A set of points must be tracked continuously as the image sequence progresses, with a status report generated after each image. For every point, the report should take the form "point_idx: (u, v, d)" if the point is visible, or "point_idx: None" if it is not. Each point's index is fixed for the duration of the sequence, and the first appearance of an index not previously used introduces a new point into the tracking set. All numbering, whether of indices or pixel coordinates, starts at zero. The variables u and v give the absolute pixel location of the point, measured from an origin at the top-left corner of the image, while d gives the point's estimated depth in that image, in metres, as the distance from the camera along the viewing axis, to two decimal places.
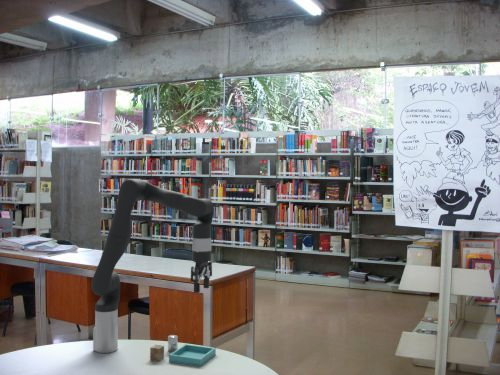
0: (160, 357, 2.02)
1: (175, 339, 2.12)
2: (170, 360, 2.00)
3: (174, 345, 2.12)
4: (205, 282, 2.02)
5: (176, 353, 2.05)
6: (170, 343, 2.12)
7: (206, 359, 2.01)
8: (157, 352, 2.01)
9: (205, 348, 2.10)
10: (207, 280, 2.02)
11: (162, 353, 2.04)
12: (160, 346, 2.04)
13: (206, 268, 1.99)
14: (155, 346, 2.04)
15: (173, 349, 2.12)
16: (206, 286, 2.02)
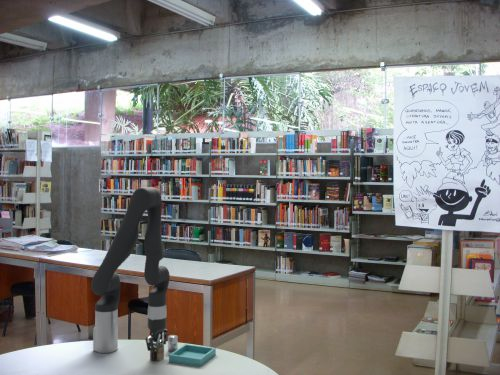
0: (160, 357, 2.02)
1: (175, 339, 2.12)
2: (170, 360, 2.00)
3: (174, 345, 2.12)
4: None
5: (176, 353, 2.05)
6: (170, 343, 2.12)
7: (206, 359, 2.01)
8: (157, 352, 2.01)
9: (205, 348, 2.10)
10: None
11: (162, 353, 2.04)
12: (160, 346, 2.04)
13: (161, 334, 2.04)
14: None
15: (173, 349, 2.12)
16: None
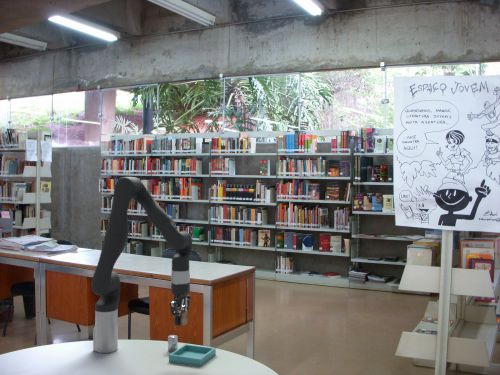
0: (184, 322, 2.02)
1: (175, 339, 2.12)
2: (170, 360, 2.00)
3: (174, 345, 2.12)
4: None
5: (176, 353, 2.05)
6: (170, 343, 2.12)
7: (206, 359, 2.01)
8: (181, 317, 2.01)
9: (205, 348, 2.10)
10: None
11: (186, 318, 2.03)
12: (184, 311, 2.03)
13: (185, 299, 2.03)
14: (178, 311, 2.03)
15: (173, 349, 2.12)
16: None
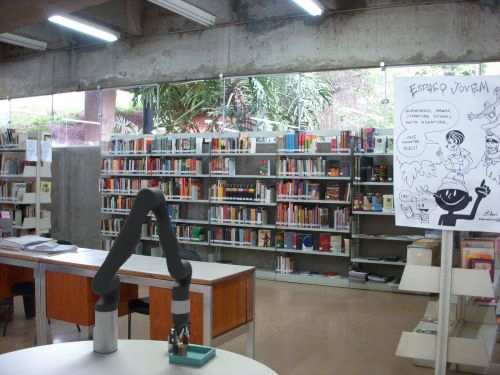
0: None
1: None
2: (170, 360, 2.00)
3: None
4: (184, 341, 2.07)
5: None
6: None
7: (206, 359, 2.01)
8: (180, 351, 2.01)
9: (205, 348, 2.10)
10: (186, 339, 2.07)
11: (185, 352, 2.03)
12: (183, 345, 2.04)
13: (185, 329, 2.03)
14: (178, 345, 2.04)
15: None
16: None
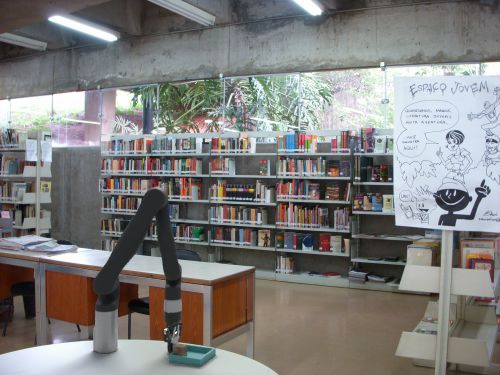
0: None
1: (175, 339, 2.12)
2: (170, 360, 2.00)
3: (174, 345, 2.12)
4: None
5: None
6: None
7: (206, 359, 2.01)
8: (180, 351, 2.01)
9: (205, 348, 2.10)
10: None
11: (185, 352, 2.03)
12: (183, 345, 2.04)
13: (177, 326, 2.14)
14: (178, 345, 2.04)
15: (173, 349, 2.12)
16: None
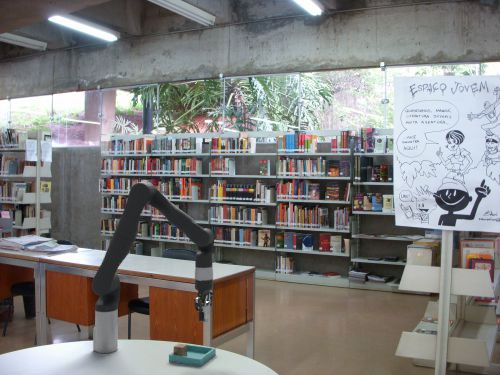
0: None
1: (207, 308, 2.05)
2: (170, 360, 2.00)
3: (206, 315, 2.05)
4: None
5: None
6: None
7: (206, 359, 2.01)
8: (180, 351, 2.01)
9: (205, 348, 2.10)
10: None
11: (185, 352, 2.03)
12: (183, 345, 2.04)
13: (208, 295, 2.06)
14: (178, 345, 2.04)
15: (205, 318, 2.04)
16: None
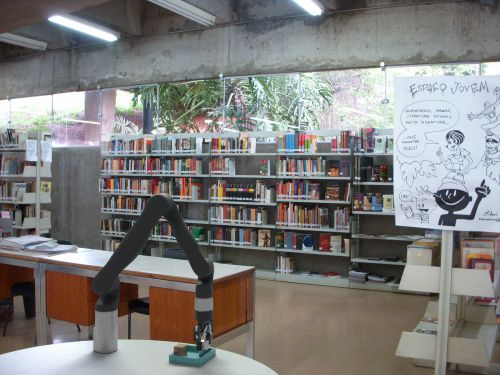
0: None
1: (206, 343, 2.05)
2: (170, 360, 2.00)
3: (205, 350, 2.05)
4: (207, 338, 2.10)
5: None
6: None
7: (206, 359, 2.01)
8: (180, 351, 2.01)
9: None
10: (209, 336, 2.10)
11: (185, 352, 2.03)
12: (183, 345, 2.04)
13: (208, 326, 2.06)
14: (178, 345, 2.04)
15: (204, 354, 2.04)
16: None
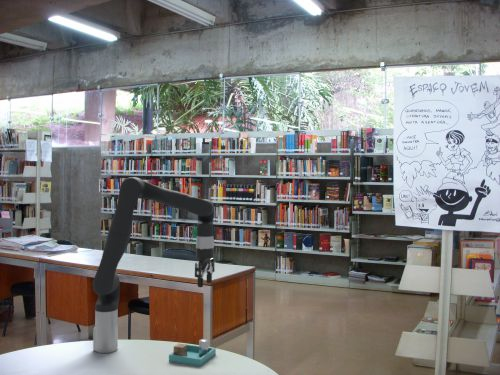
0: None
1: (207, 343, 2.05)
2: (170, 360, 2.00)
3: (206, 350, 2.05)
4: (208, 277, 2.16)
5: None
6: (202, 347, 2.04)
7: (206, 359, 2.01)
8: (180, 351, 2.01)
9: None
10: (210, 275, 2.16)
11: (185, 352, 2.03)
12: (183, 345, 2.04)
13: (209, 264, 2.12)
14: (178, 345, 2.04)
15: None
16: (209, 281, 2.16)
